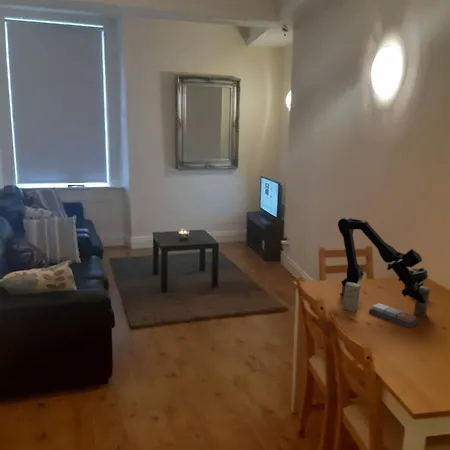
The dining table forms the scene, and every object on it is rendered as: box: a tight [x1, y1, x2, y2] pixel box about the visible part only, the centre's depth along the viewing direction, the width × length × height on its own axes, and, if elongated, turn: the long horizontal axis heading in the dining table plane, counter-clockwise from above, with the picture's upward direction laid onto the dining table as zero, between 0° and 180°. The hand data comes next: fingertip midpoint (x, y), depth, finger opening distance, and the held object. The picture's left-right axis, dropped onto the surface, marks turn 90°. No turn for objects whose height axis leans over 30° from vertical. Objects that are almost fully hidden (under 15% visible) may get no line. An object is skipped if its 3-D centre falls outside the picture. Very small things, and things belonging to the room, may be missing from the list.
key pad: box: [368, 302, 419, 329], centre depth 214 cm, size 20×7×4 cm, turn 41°
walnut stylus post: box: [413, 285, 431, 318], centre depth 219 cm, size 4×4×13 cm
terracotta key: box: [397, 311, 417, 323], centre depth 210 cm, size 6×6×2 cm
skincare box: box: [341, 282, 361, 313], centre depth 221 cm, size 6×4×12 cm
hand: (425, 301), depth 218 cm, fingers closed on walnut stylus post, 4 cm apart
